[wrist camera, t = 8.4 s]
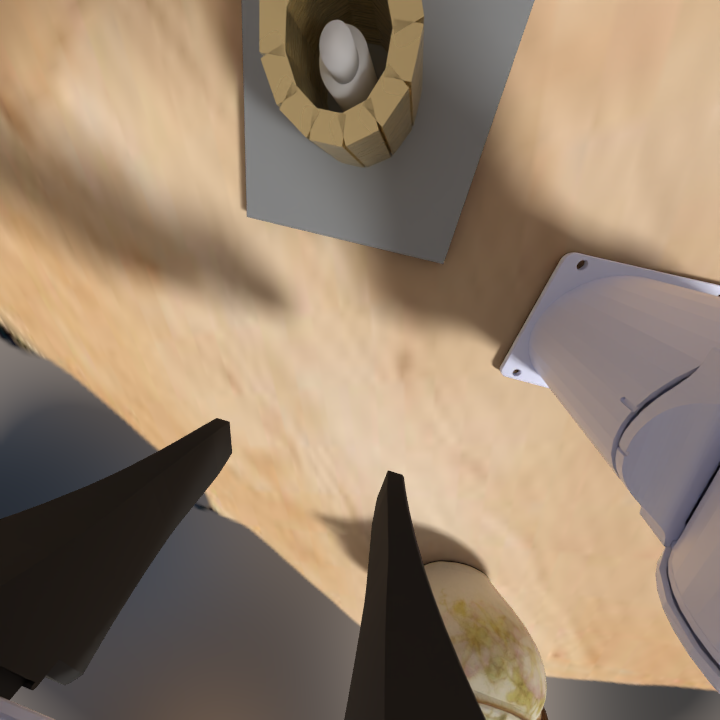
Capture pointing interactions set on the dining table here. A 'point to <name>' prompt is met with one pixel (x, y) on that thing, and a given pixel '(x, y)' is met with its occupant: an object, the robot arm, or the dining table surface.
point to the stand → (403, 169)
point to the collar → (308, 92)
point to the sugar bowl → (489, 643)
